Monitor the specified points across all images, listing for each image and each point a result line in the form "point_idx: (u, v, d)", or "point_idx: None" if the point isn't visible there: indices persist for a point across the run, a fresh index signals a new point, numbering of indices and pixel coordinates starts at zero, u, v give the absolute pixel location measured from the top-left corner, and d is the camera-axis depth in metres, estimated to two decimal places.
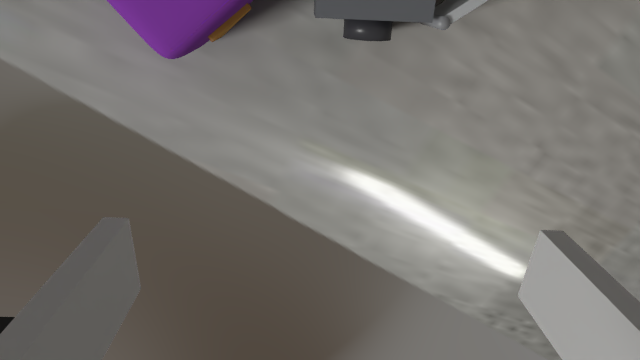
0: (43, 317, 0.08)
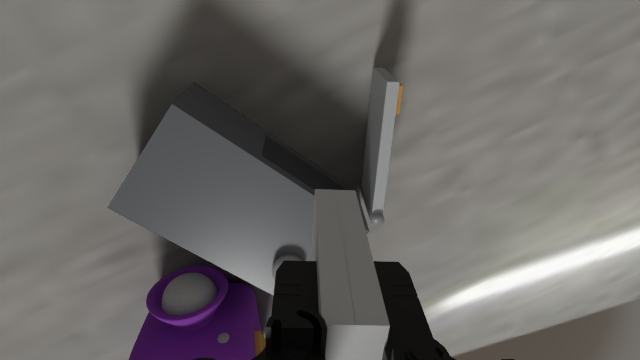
0: (338, 256, 0.11)
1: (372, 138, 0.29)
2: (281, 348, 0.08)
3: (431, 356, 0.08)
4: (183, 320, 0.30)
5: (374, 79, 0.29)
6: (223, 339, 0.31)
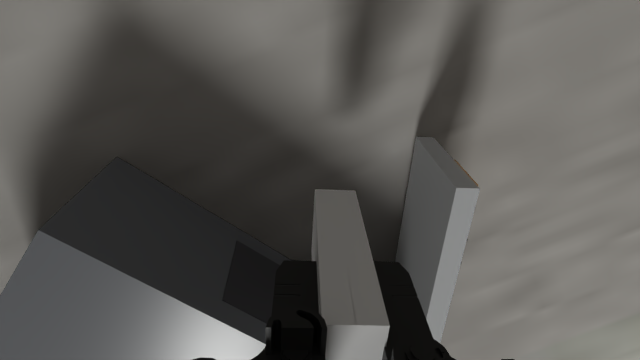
0: (338, 256, 0.11)
1: (413, 257, 0.17)
2: (281, 348, 0.08)
3: (431, 356, 0.08)
4: None
5: (419, 159, 0.17)
6: None
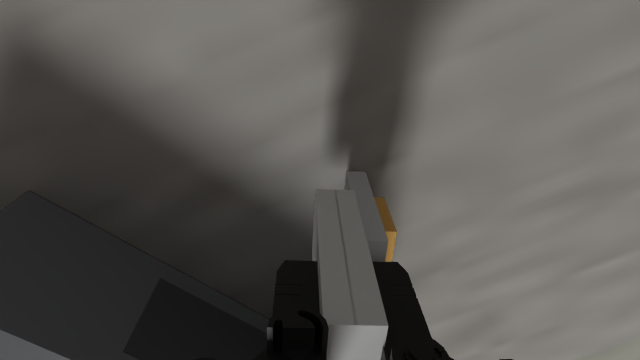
0: (339, 256, 0.11)
1: None
2: (282, 348, 0.08)
3: (430, 356, 0.08)
4: None
5: None
6: None
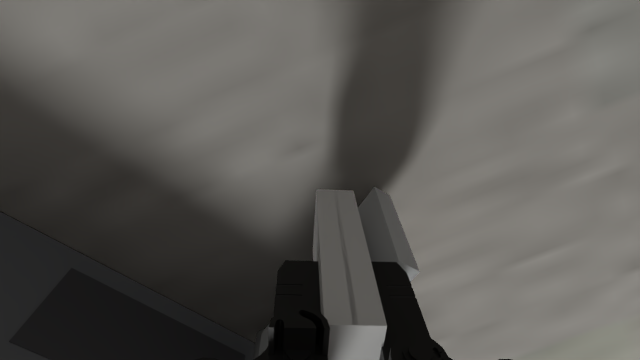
0: (340, 256, 0.11)
1: None
2: (283, 348, 0.08)
3: (429, 356, 0.08)
4: None
5: (367, 210, 0.16)
6: None
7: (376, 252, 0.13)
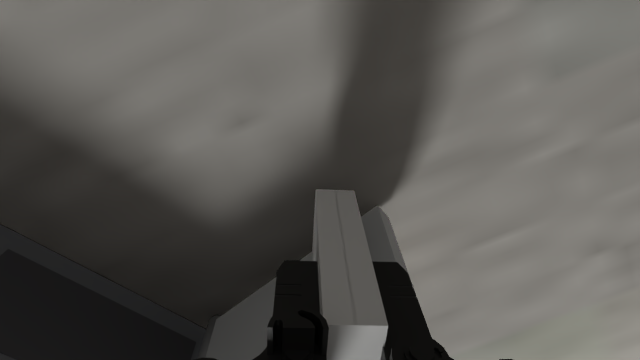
0: (339, 256, 0.11)
1: None
2: (282, 348, 0.08)
3: (430, 356, 0.08)
4: None
5: (367, 226, 0.16)
6: None
7: None
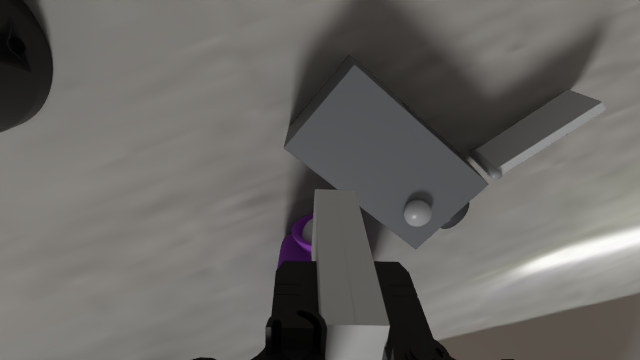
0: (338, 256, 0.11)
1: (534, 126, 0.36)
2: (281, 348, 0.08)
3: (431, 356, 0.08)
4: None
5: (566, 96, 0.37)
6: None
7: (583, 103, 0.34)
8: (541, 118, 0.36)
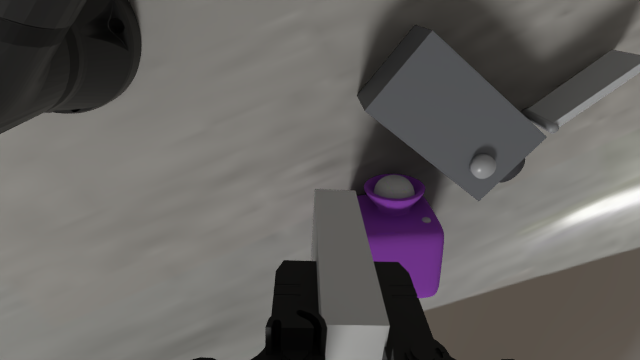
0: (338, 256, 0.11)
1: (584, 84, 0.40)
2: (281, 348, 0.08)
3: (431, 356, 0.08)
4: (404, 201, 0.40)
5: (612, 55, 0.40)
6: (427, 220, 0.41)
7: (630, 60, 0.38)
8: (590, 76, 0.40)
